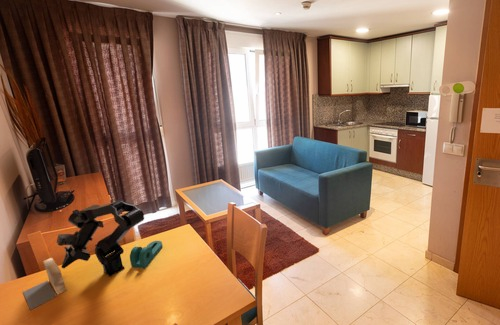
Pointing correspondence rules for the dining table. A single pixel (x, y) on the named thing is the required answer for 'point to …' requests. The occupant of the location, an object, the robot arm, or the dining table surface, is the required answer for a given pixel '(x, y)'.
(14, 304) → the dining table surface
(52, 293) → the charcoal rubber mat
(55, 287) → the beige streaked flat block
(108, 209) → the robot arm
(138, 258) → the bracket
